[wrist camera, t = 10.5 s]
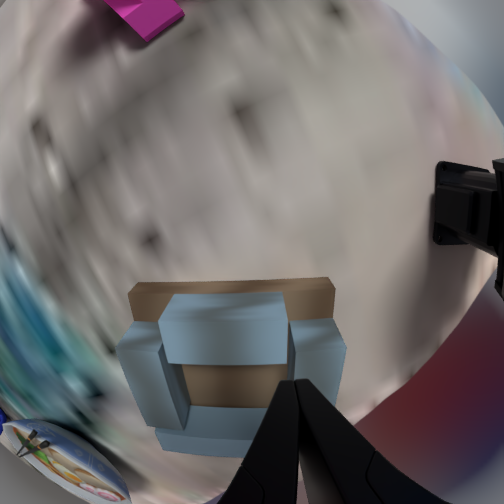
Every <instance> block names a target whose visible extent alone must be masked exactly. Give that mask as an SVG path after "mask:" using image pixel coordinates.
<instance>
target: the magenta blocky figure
mask: <svg viewBox="0 0 504 504" xmlns="http://www.w3.org/2000/svg"><path fill="white" fill-rule="evenodd" d="M103 1H105V2H106V3H107V4H108V5H109V6H110V7H111V8H112V9H113V10H114V11H115V12H116V13H118V14H119V15H120V16H121V17H122V18H123V19H124V20H125V21H126V22H127V23H128V24H129V25H130V26H131V27H132V28H133V29H134V30H135V31H136V32H137V33H138V34H139V35H140V36H141V37H142V38H143V39H144V40H145V41H146V42H148V41H149V40H151V39H152V38H153V37H154V36H156V35H157V34H158V33H160V32H161V31H162V30H164V29H165V28H166V27H168V26H169V25H171V24H172V23H173V22H175V21H176V20H178V19H179V18H181V17H182V16H184V15H185V14H184V12H183V10H182V9H181V8H180V7H179V6H178V4H177V3H176V2H175V1H174V0H103Z"/></svg>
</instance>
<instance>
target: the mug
mask: <svg viewBox="0 0 504 504" xmlns="http://www.w3.org/2000/svg"><path fill="white" fill-rule="evenodd" d="M6 421H7V418H6V415H5V414H4V412H3V411H2V409H1V408H0V435H1V433H2V431H3V425H2V424H4V423H6Z"/></svg>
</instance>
